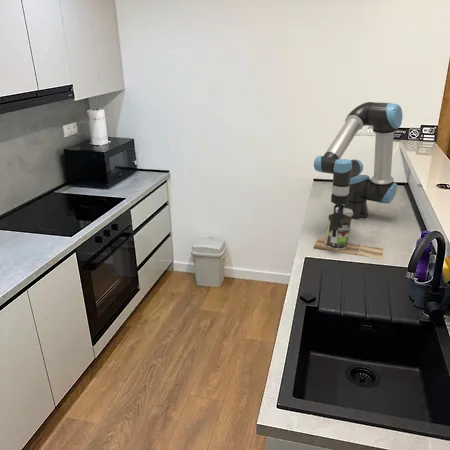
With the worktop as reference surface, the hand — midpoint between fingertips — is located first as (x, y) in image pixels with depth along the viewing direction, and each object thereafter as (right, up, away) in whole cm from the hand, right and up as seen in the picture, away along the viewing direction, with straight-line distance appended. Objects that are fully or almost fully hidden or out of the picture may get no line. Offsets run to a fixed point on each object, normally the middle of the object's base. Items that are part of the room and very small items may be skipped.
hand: (335, 237), depth 201 cm
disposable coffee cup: (+9, +2, +22) cm, 24 cm away
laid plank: (+15, -8, -4) cm, 17 cm away
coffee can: (0, -4, +2) cm, 4 cm away
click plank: (+1, -5, +2) cm, 5 cm away
